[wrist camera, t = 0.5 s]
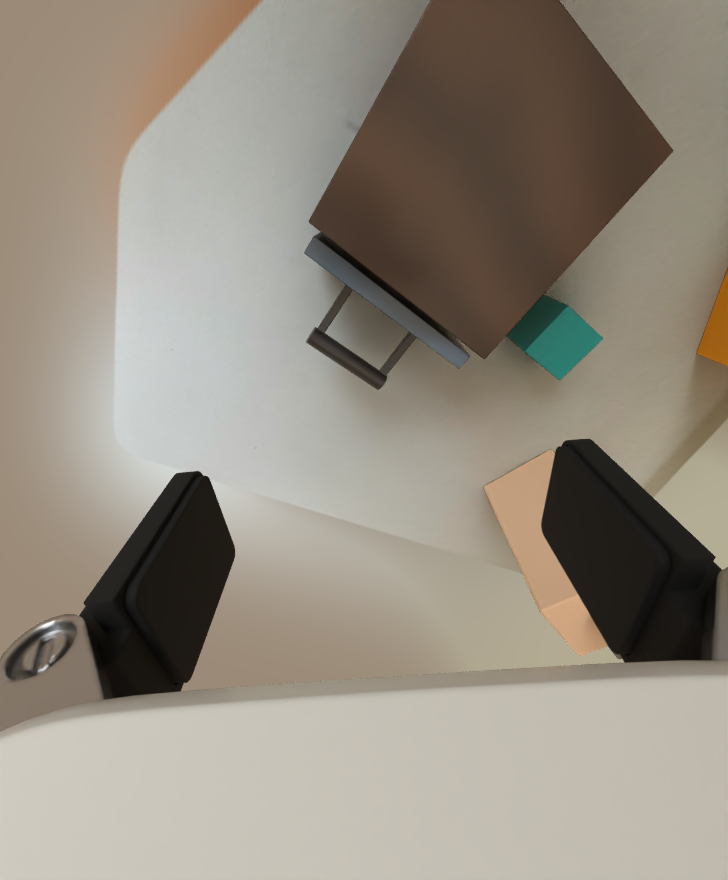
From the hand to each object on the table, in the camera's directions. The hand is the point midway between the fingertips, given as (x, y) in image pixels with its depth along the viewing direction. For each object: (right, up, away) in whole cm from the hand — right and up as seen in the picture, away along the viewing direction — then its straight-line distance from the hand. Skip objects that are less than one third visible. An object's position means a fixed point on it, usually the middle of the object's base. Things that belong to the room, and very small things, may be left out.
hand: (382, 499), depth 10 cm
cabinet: (+6, +21, +19) cm, 29 cm away
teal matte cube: (+16, +12, +25) cm, 31 cm away
